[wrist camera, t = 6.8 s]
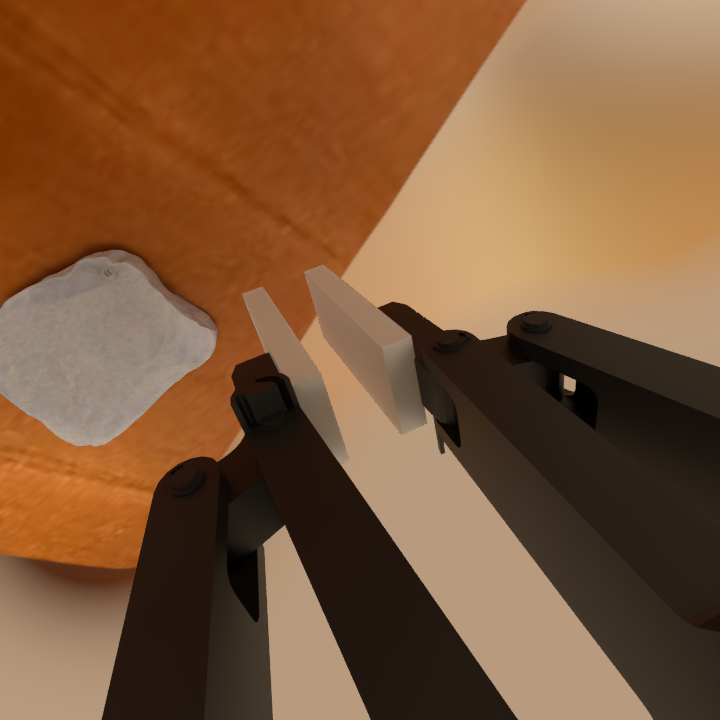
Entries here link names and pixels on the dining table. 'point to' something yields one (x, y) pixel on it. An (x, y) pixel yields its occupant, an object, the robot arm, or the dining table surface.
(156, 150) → the dining table surface
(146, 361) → the stone block
